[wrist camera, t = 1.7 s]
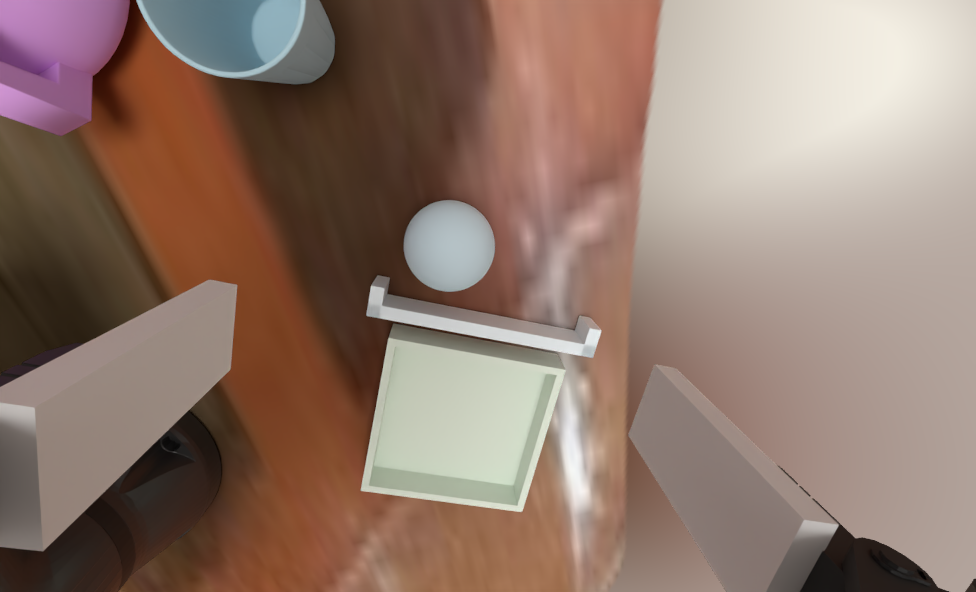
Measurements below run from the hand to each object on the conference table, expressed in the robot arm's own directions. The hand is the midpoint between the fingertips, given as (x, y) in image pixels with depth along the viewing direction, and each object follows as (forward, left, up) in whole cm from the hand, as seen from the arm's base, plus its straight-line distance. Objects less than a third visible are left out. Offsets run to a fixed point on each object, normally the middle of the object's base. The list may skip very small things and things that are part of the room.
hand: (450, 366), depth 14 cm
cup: (-13, +11, -23) cm, 28 cm away
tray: (+4, -15, -22) cm, 27 cm away
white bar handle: (+4, -6, -22) cm, 24 cm away
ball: (0, 0, -22) cm, 22 cm away
